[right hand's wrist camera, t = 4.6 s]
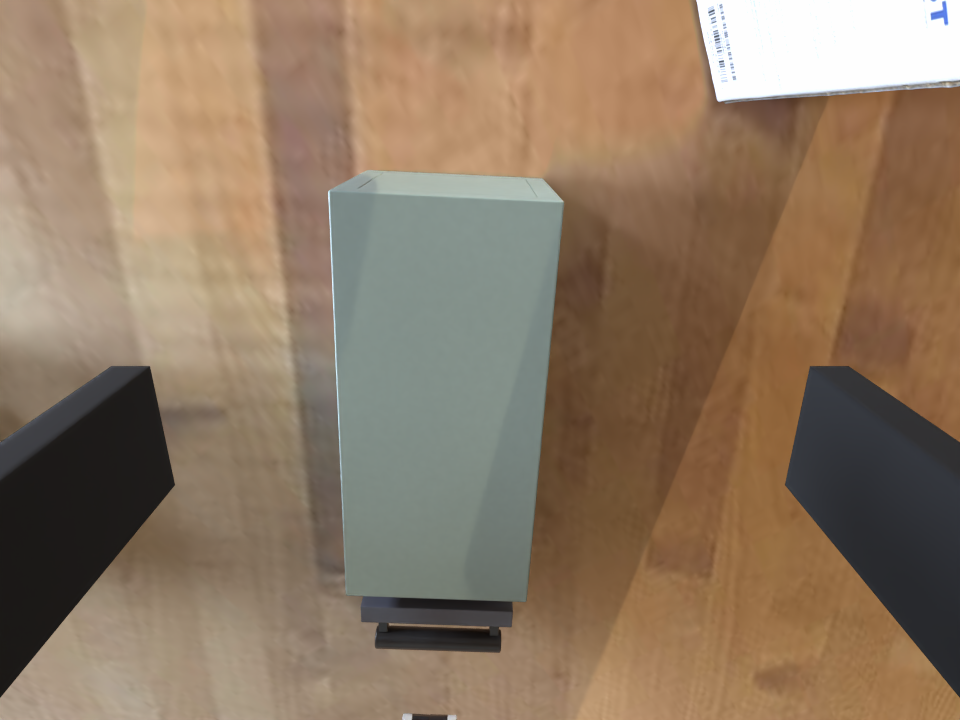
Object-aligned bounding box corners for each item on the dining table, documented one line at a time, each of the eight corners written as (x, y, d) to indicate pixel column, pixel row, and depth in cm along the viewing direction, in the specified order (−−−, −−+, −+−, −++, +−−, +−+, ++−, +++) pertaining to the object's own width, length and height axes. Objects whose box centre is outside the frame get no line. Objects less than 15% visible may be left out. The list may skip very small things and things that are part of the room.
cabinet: (516, 500, 44) (526, 602, 35) (373, 495, 44) (345, 596, 35) (542, 178, 36) (564, 201, 27) (366, 169, 36) (328, 190, 27)
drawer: (501, 605, 46) (505, 696, 39) (381, 600, 46) (363, 691, 39) (528, 255, 36) (540, 290, 29) (375, 248, 36) (349, 282, 29)
